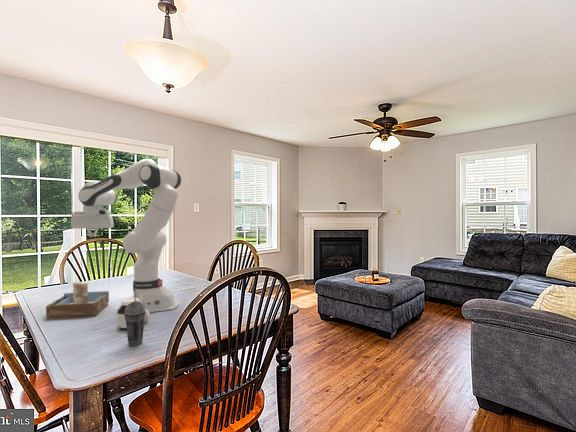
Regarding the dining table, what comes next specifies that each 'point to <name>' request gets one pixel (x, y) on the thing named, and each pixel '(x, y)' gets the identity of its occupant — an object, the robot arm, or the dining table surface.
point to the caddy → (75, 309)
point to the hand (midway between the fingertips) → (92, 236)
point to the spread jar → (120, 314)
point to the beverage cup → (135, 322)
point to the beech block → (80, 293)
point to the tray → (91, 297)
